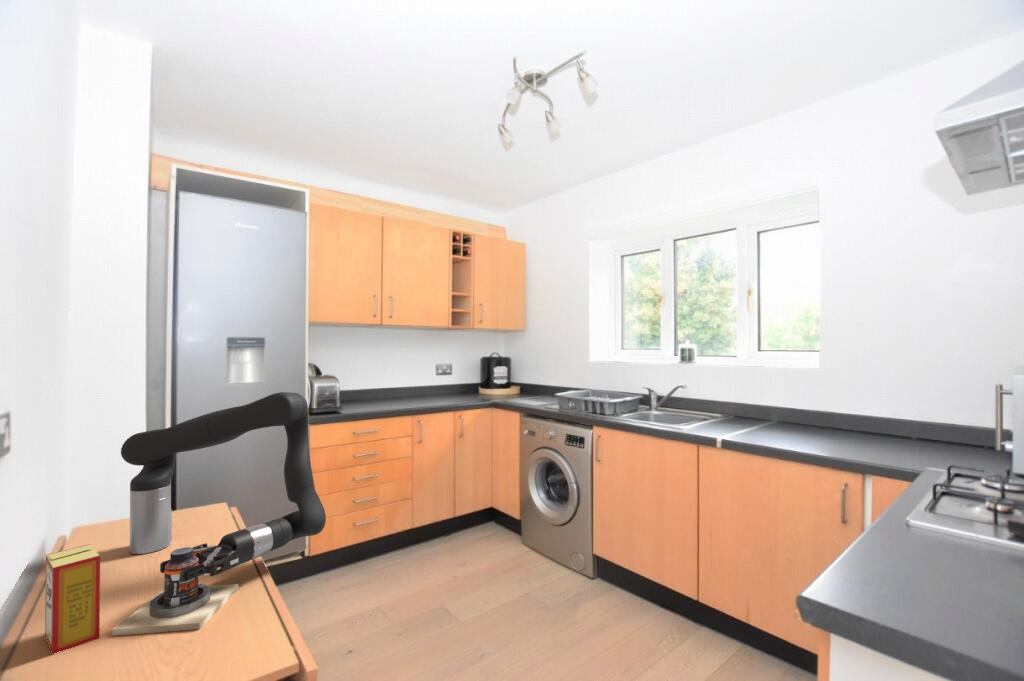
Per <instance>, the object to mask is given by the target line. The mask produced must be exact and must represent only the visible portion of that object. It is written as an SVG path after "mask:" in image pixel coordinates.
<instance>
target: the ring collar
mask: <svg viewBox="0 0 1024 681" xmlns="http://www.w3.org/2000/svg"><path fill="white" fill-rule="evenodd" d="M210 586H211V585H208V584H203V583H198V588H199V589H198V595H199V597H198V598H195V599H193V600H191V601H189V602H186V603H183V604H179V605H175V606H161V605H163V604H164V593H161V594H159V595H158V596H156V595H155V596H156V597H155V596H154V597H155V598H154V599H153V600H151V599H150V600H151V601H150V616H151V617H154V618H157V619H162V618H173V617H177V616H181V615H184V614H188V613H191V612H193V611H195V610H197V609H199V608H201V607H203V606H204V605H205V604H206V603H207V602H208V601H209V600H210Z"/></svg>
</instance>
